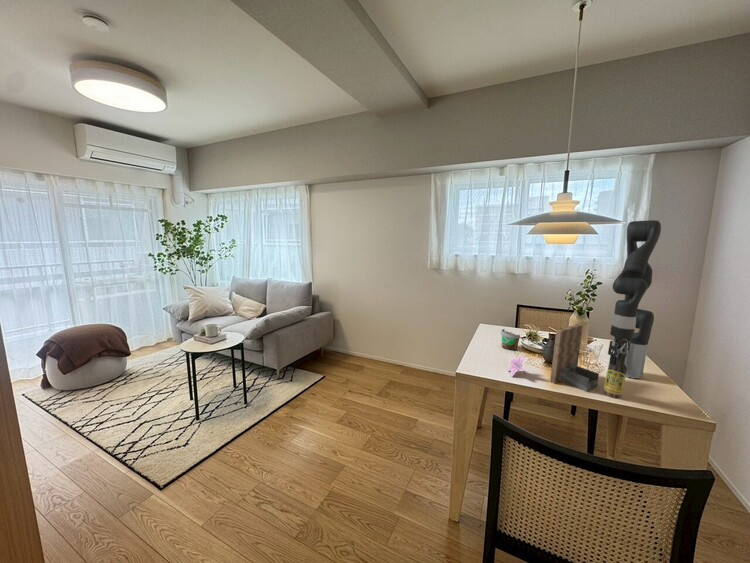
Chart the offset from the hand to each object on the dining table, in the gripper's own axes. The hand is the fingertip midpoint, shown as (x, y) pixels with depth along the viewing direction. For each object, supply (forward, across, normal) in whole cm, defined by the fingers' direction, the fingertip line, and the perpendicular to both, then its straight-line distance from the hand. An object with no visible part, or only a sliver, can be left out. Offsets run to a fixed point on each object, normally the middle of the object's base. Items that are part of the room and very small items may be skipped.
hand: (617, 362), depth 126 cm
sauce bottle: (+15, 0, 0) cm, 15 cm away
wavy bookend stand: (+15, +2, -13) cm, 20 cm away
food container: (+15, -7, -56) cm, 58 cm away
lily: (+15, +18, -33) cm, 40 cm away
